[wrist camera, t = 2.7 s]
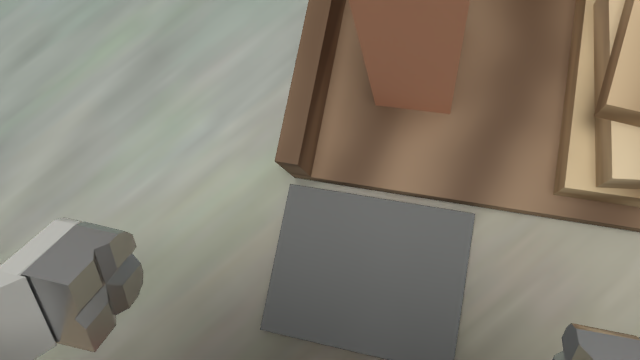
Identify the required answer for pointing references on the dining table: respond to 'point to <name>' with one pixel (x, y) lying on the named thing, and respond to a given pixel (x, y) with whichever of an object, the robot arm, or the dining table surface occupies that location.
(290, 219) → the felt mat
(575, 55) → the offcut stack
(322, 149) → the brown wooden tray
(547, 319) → the dining table surface
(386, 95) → the salmon orange upright block
